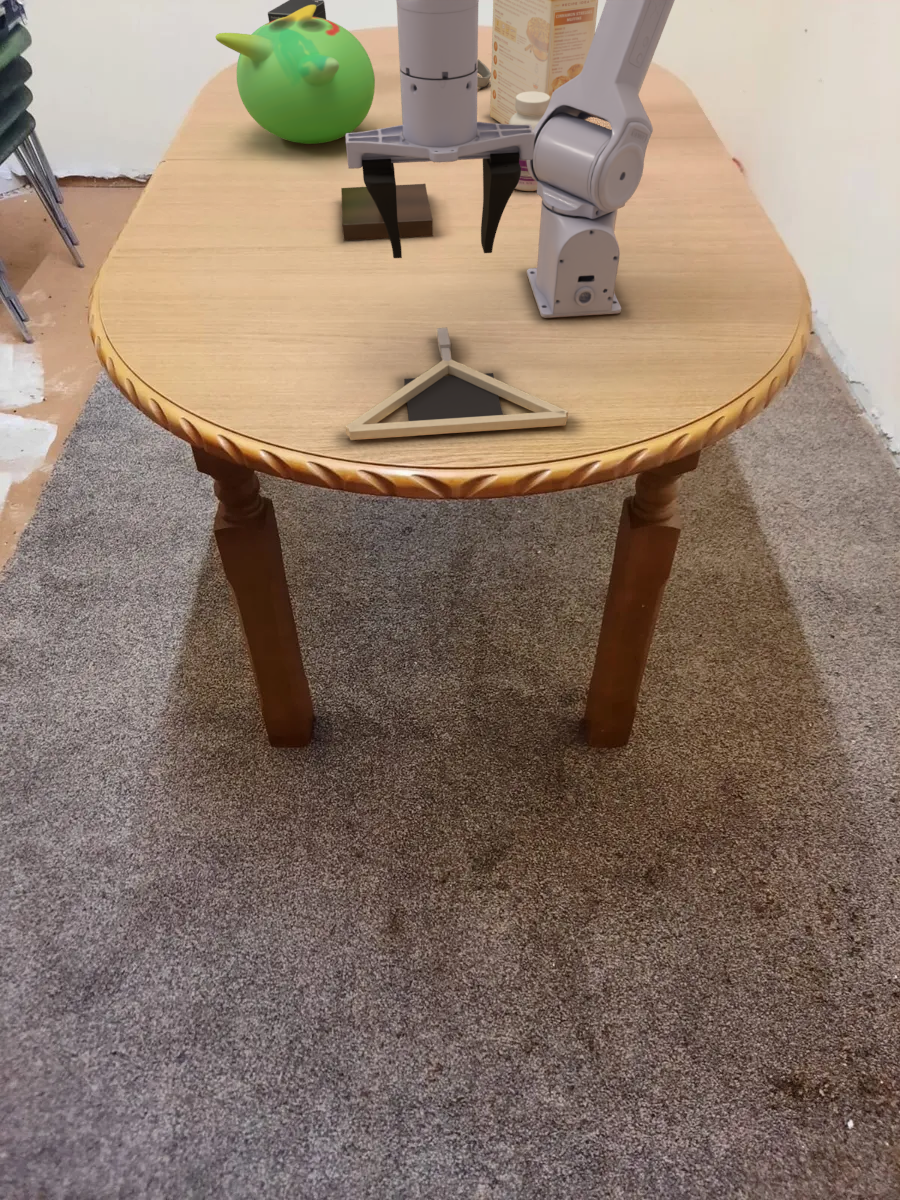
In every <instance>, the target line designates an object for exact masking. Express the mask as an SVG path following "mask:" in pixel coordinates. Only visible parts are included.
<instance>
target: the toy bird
mask: <svg viewBox="0 0 900 1200" xmlns="http://www.w3.org/2000/svg"><path fill="white" fill-rule="evenodd" d="M315 9H316V5H308V6H306V7H303V8H301V9H299V10H297V11H296V12H294V13H292V14H290V15H288V16H287V17H283V18H279V19H276V20H273V21H271V22H269V21H268V22H267V23H265V24H263V25H261V26H260V27H258V28H257V29H256V30H254V31H253V32H252V33H251V34H249V33H239V32H220V33H217V34H216V35H215V40H216V41H217V42H218V43H220V44H221V45H223V46H224V47H227V48H228V49H230V50H232V51H234V52H236V53H238V54H239V55H238V59H237V63H236V85H237V90H238V94H239V96H240V100H241V102H242V104H243V106H244V107H245V109H246V111H247V113H248V114H249V115H250V116H251V118H252V119H253V120H254V122H256V123H257V124H258V125H259V126H260V127H261V128H263V129H264V130H265V131H267V132H269V133H270V134H272V135H274V136H275V137H278V138H280V139H283V140H285V141H288V142H293V143H296V144H305V145H312V144H313V145H316V144H325V143H330V142H333V141H337V140H339V139H342V138H343V137H346V133H353V132H354V131H355V130H356V129H357V128H358V127H359V126H361V124H362V123H363V122H364V120H365V119H366V117H367V116H368V114H369V112H370V109H371V107H372V104H373V101H374V96H375V89H376V82H375V72H374V68H373V65H372V61H371V59H370V56H369V54H368V52H367V50H366V49H365V47H364V46H363V44H362V42H360V40H359V39H358V38H357V37H356V36H355V35H354V34H352V32H351V31H350V30H348V29H346V28H345V27H343V26H342V25H340V24H338V23H336V22H334V21H331V20H329V19H327V18H326V19H323V18H319V17H313V14H314V12H315Z"/></svg>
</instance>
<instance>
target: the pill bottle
mask: <svg viewBox="0 0 900 1200" xmlns="http://www.w3.org/2000/svg"><path fill="white" fill-rule="evenodd" d="M549 102H550V96H549V95H547V94H545V93H542V92H523V93H520V94H518V95H517V96H516V102H515V108H516V111H517V113H515V114H514V115H513V116H512V117H511V119H510V121H509V124H511V125H529V124H530V125H531V127H532V129H533V130H534V128H535V127H536V125H537V124H538V122H539V121H540V119H541V118H542V117H543V115H544V113H545V112H546V110H547V108H548V105H549ZM519 164H520V166H521V175H520V179H519V182H518V184H517V186H516V188H515V189H514V190H518V191H523V192H534V191H535V192H536V191H537V184H538V182H536V181H535V180H534V179H533V178H532V177H531V176H530V174H529V171H528V168H527V161H526V160H520V159H519Z"/></svg>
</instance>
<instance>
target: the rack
mask: <svg viewBox="0 0 900 1200" xmlns="http://www.w3.org/2000/svg"><path fill="white" fill-rule="evenodd" d="M426 185H427V184H426V183H413V184H396V199H397V220H398V227H399V234H400V239H402V238H416V237H418V238H419V237H433V235H434V233H433V232H434V231H433V230H434V229H433V217H432V211H431V207H430V206H431V205H430V199H429V196H428V191H427V186H426ZM340 189H341V224H342V233H343V241H344V242H346V241H364V240H381V239H390V238H389V235H388V232H387V229H386V226H385V224H384V221H383V219H382V217H381V214H380V212H379V210H378V208H377V206H376V204H375V202H374V200H373V199H372V197H371V195H370V193H369V192H368V190H367V188H366V186H354V187H353V186H352V187H341V188H340Z"/></svg>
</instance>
